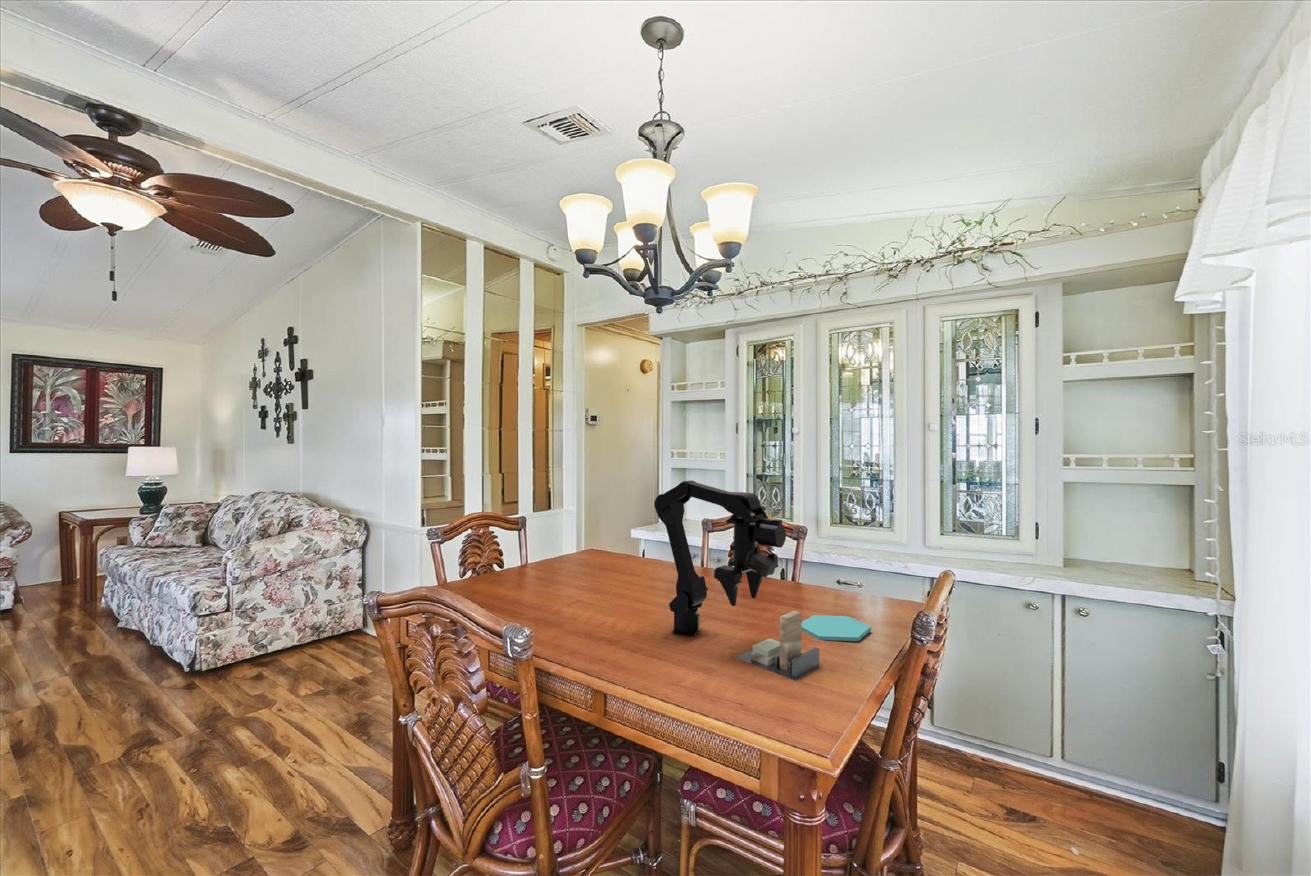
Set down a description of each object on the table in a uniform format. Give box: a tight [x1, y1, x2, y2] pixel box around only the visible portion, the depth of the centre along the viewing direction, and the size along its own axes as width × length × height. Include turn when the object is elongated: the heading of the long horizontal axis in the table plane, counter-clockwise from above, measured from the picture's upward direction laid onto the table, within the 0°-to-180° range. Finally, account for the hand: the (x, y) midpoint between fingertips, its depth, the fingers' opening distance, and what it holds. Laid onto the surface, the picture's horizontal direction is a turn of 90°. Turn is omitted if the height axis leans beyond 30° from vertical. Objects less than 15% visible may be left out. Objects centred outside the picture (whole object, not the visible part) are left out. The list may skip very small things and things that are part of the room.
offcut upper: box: [752, 637, 780, 657], centre depth 131 cm, size 4×7×2 cm, turn 133°
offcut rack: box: [734, 647, 824, 681], centre depth 129 cm, size 17×12×5 cm
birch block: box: [779, 610, 803, 671], centre depth 126 cm, size 2×6×12 cm, turn 133°
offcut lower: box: [751, 652, 780, 666], centre depth 131 cm, size 5×8×2 cm, turn 133°
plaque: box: [801, 614, 872, 642], centre depth 153 cm, size 18×2×20 cm
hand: (743, 601), depth 139 cm, fingers open, 9 cm apart
